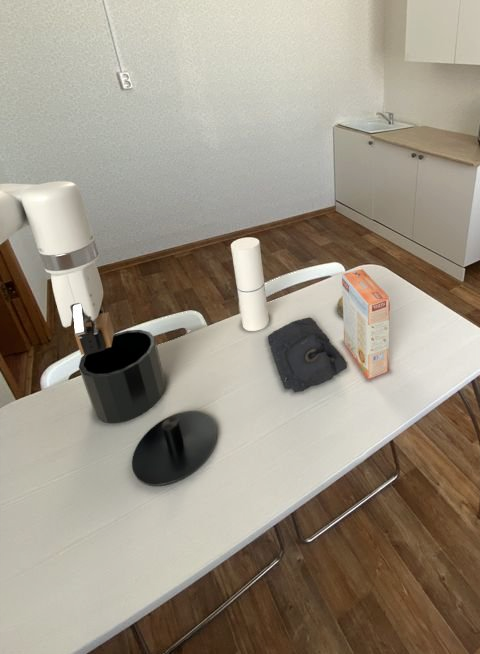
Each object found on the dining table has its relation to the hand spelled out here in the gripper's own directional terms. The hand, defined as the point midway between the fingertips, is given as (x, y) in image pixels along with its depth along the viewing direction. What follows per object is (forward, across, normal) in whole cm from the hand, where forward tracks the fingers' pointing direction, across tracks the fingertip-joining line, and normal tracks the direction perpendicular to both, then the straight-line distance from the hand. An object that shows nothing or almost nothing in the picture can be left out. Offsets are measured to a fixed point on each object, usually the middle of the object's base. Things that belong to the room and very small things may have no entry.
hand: (97, 341), depth 71 cm
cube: (0, 0, 0) cm, 0 cm away
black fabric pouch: (+21, -3, +39) cm, 45 cm away
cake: (+21, -13, +58) cm, 63 cm away
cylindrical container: (+21, -20, +31) cm, 43 cm away
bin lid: (+21, +10, +10) cm, 25 cm away
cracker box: (+21, +5, +53) cm, 57 cm away
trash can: (+21, -8, +1) cm, 23 cm away
